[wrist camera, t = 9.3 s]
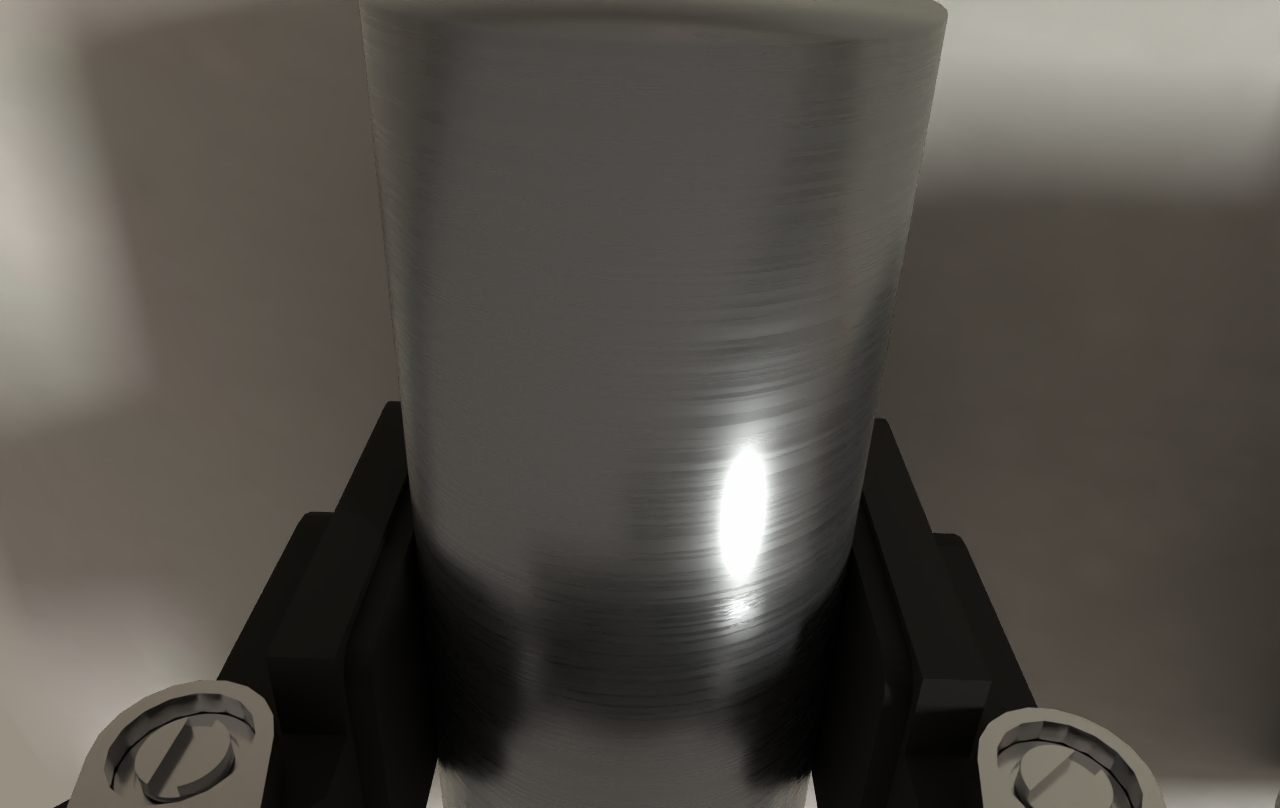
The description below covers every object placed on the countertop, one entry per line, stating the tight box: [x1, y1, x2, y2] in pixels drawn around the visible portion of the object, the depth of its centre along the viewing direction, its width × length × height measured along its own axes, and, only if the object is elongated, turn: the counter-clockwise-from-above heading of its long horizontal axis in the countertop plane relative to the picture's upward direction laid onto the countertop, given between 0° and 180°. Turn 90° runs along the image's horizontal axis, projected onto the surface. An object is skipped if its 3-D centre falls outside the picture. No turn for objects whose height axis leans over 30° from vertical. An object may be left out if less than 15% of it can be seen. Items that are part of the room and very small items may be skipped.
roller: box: [359, 0, 948, 808], centre depth 10 cm, size 12×4×4 cm, turn 178°
